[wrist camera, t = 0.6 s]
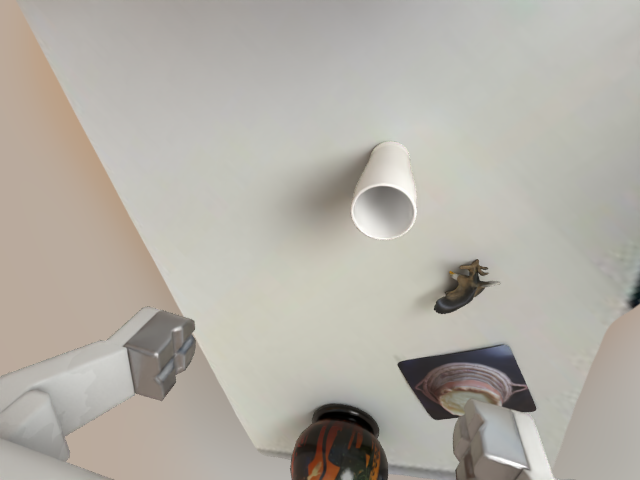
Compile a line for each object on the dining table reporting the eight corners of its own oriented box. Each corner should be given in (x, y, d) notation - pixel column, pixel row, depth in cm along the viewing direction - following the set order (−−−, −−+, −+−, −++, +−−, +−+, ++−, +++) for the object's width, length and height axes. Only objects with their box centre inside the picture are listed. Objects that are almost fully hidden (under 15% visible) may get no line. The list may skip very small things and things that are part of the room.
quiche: (507, 342, 61) (513, 361, 58) (537, 409, 69) (543, 429, 66) (395, 362, 70) (395, 379, 67) (433, 419, 78) (434, 437, 75)
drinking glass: (355, 149, 48) (336, 201, 36) (401, 124, 45) (397, 170, 33) (379, 189, 50) (370, 250, 38) (424, 168, 47) (429, 226, 35)
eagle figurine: (441, 252, 53) (421, 300, 56) (476, 279, 47) (452, 331, 51) (477, 251, 56) (456, 297, 60) (514, 276, 50) (488, 325, 54)
